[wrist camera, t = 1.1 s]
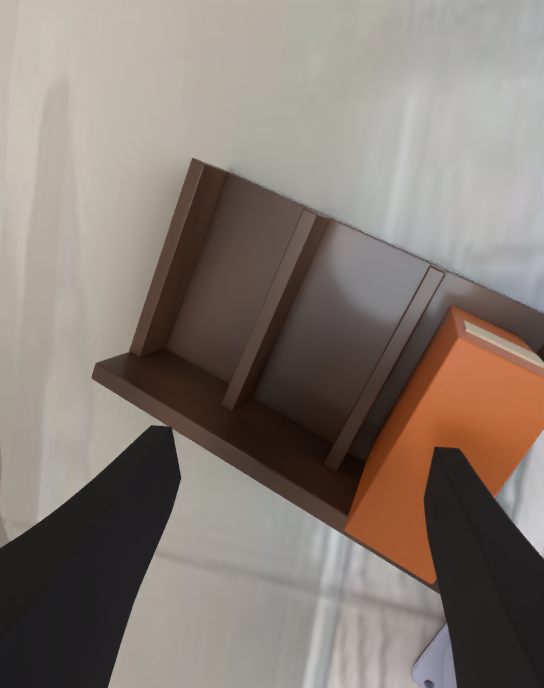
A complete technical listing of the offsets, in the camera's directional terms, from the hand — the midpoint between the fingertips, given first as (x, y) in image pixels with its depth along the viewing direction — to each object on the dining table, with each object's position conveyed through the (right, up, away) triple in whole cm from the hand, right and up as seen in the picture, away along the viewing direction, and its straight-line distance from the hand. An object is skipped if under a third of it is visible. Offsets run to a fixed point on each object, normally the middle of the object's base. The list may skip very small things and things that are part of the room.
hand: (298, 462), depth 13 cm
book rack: (+2, +3, +11) cm, 12 cm away
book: (+7, +1, +8) cm, 11 cm away
